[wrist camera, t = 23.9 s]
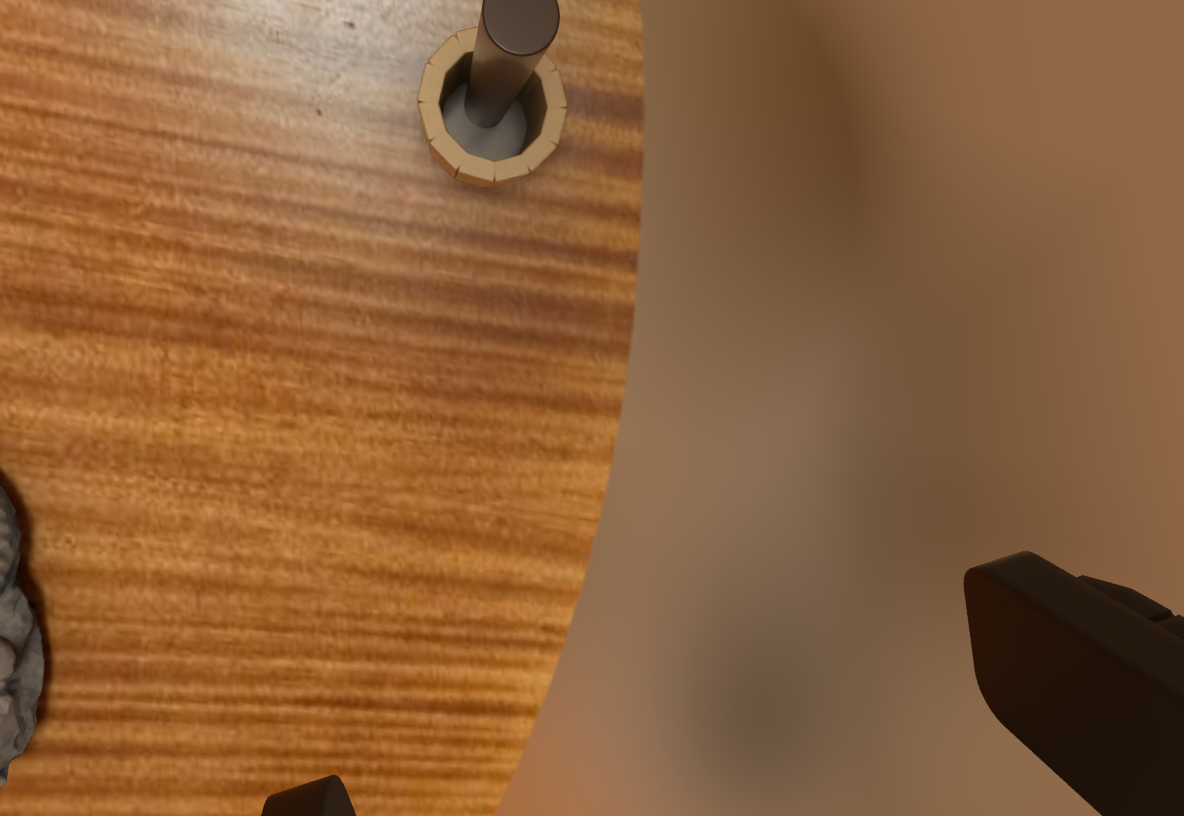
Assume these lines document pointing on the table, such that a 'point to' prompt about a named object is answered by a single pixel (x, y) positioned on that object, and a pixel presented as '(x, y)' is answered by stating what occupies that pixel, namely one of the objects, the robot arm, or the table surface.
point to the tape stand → (500, 76)
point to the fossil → (16, 646)
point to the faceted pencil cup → (537, 98)
